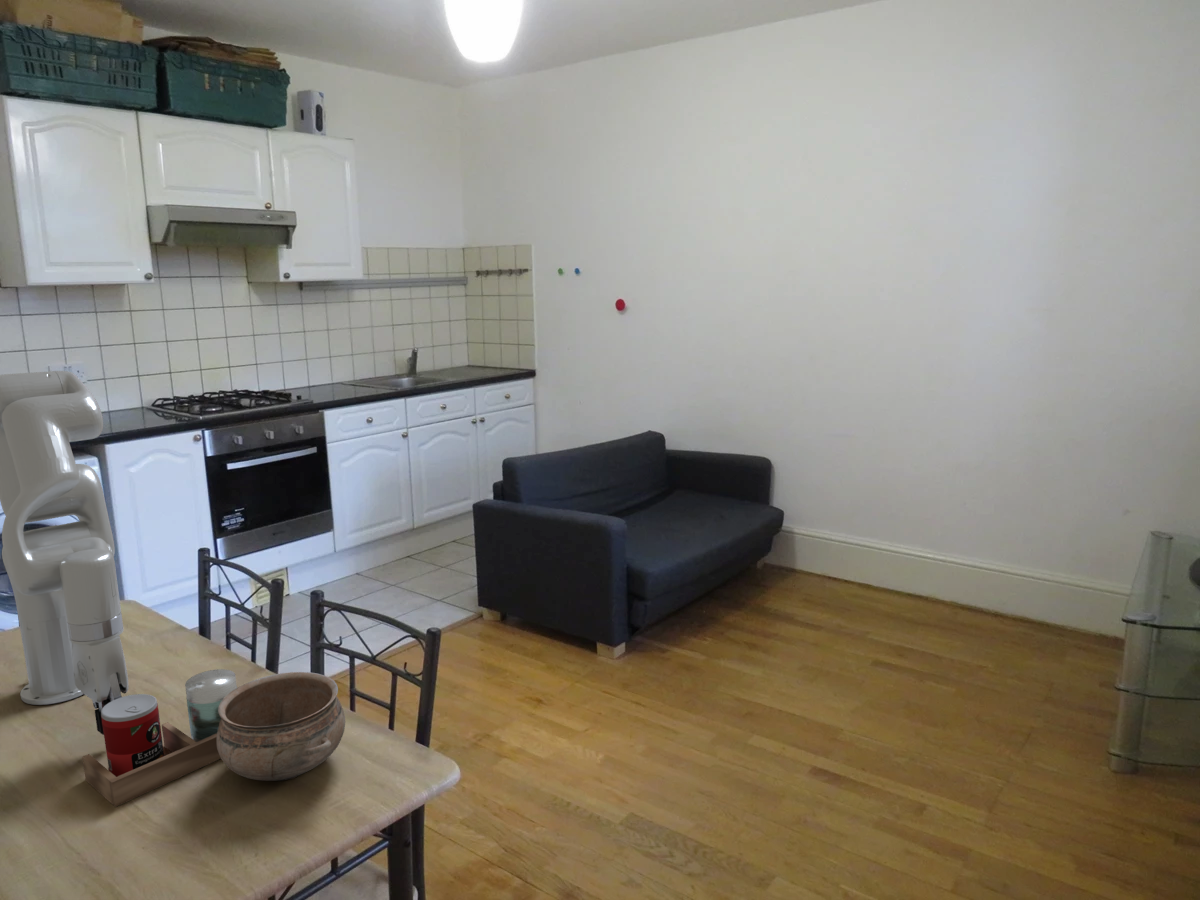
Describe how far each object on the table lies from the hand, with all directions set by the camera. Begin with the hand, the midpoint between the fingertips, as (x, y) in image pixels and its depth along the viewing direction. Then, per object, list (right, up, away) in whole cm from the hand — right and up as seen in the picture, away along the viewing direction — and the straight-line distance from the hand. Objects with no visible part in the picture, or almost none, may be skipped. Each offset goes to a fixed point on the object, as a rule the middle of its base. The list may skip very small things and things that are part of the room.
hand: (109, 729), depth 138 cm
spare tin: (+17, -3, +3) cm, 17 cm away
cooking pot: (+31, -4, -6) cm, 32 cm away
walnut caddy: (+13, -4, -2) cm, 14 cm away
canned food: (+8, -5, -5) cm, 10 cm away
